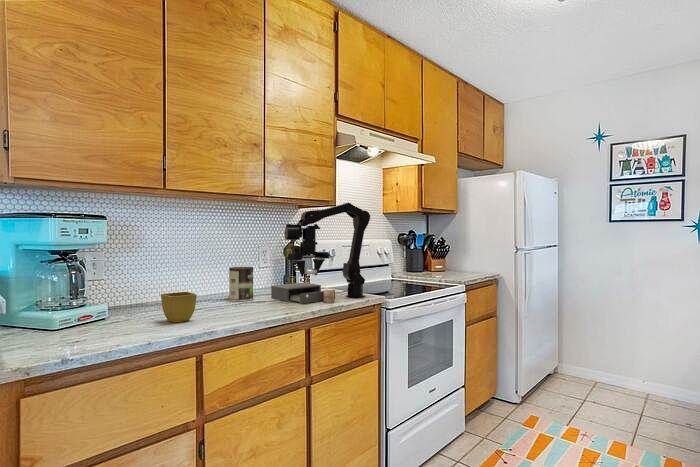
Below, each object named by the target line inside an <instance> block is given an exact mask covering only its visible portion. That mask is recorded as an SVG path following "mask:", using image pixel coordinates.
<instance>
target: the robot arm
mask: <svg viewBox="0 0 700 467" xmlns="http://www.w3.org/2000/svg"><path fill="white" fill-rule="evenodd" d="M343 213H346V214H347V215H348V216H349V217H350V218H351V219H352V226H353V235H352V240H351V246H350V252H349V256H348V257H349V258H348V260H347V262H344V263H343V264H342V265H343V268H342V270H341V272H342V275H343V276H342V277H343V278H344V279H345V280H346V282H347V283H348V284H347V295H345V297H347V298H352V299H358V298H365V297H366V295H365V294H364V293H363V292H364V290H363V289H364V288H363V287H364V286H363V285H365V282H366V279H365V277H363V276H362V274H361V264H360V258H361V252H362V248H363V247H362V246H363V240H364V235H365V231H366V229H367V227H368V225H369V223H370V220H371V214H370V213H369V212H368V210H366V209H365V210H363V209H362V208H360V207H358V206H355V205H353V204H352V203H351V202H344V203H342V204H339V205H334V206H331V207H328V208H324V209H316V210H315V209H313V210H307V211H306V210H305V211H304V212H302V213H301V215H300V218H299V219H300V220H299V221H298V222H297V223H296V224H291V223H286V224H285V228H284V231H283V232H284V234H283V235H284V239H285V241H300V238H302V240H301V242H300V243H299V246H297V245H296V244H295V245H292V246H291V249H290V250H291V251H290V252H289V253H288V255H287V260H288V261H289V260H290V261H292V262H293V263H295V265H296V266H297V268H298V272H299V274H300V276H301V277H304V275H305V274H304V269H306V268H305V266H306V260H304V259H312V261H313V264H314V265H313V269H317V273H316V274H314V276H318V273H319V271H320V269H321V267H322V266H323V264H324V262H325V261H326V259H330V253H329V252H328V251H316V250H317V249H316V245H318V241H317V240H316V237H317V236H316V235H317V234H316V233H317V232H316V230H321V227H320V226H319V225H318V222H319V221H321V220H323V219H325V218H329V217H332V216H335V215H340V214H343Z"/></svg>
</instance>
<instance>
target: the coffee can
mask: <svg viewBox="0 0 700 467" xmlns="http://www.w3.org/2000/svg"><path fill="white" fill-rule="evenodd" d="M228 270H229V272H228V273H229V274H228V275H229V278H228V280H229V288H228V289H229V291H228V292H229V299H228V301H230V302H236V303H237V302H238V303H239V302H250V301H253V300H254V267H253V266H232V267H228Z"/></svg>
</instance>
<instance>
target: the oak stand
mask: <svg viewBox="0 0 700 467" xmlns="http://www.w3.org/2000/svg"><path fill="white" fill-rule="evenodd" d="M333 290H334V289H327V290H326V289H324V290H323V291H324V300H323V303H324V304H334V303H335V299H334V291H333Z"/></svg>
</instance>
